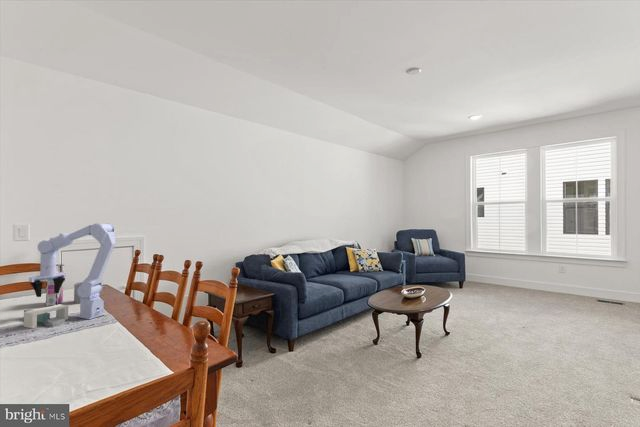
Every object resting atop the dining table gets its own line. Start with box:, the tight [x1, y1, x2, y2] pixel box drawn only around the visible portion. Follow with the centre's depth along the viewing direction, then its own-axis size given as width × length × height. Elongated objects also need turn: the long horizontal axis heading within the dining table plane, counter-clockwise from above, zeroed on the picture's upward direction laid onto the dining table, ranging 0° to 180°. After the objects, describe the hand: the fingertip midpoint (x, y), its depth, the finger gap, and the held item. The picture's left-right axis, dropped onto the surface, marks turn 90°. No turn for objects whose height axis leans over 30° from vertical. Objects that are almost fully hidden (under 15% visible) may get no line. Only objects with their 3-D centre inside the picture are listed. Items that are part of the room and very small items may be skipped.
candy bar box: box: [45, 271, 65, 307], centre depth 177 cm, size 11×5×16 cm, turn 25°
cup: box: [73, 281, 83, 305], centre depth 183 cm, size 8×8×10 cm
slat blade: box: [23, 308, 51, 324], centre depth 150 cm, size 15×2×4 cm, turn 69°
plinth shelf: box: [23, 303, 69, 329], centre depth 147 cm, size 6×14×6 cm, turn 159°
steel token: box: [44, 316, 66, 328], centre depth 145 cm, size 5×5×2 cm
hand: (47, 294), depth 156 cm, fingers open, 7 cm apart
